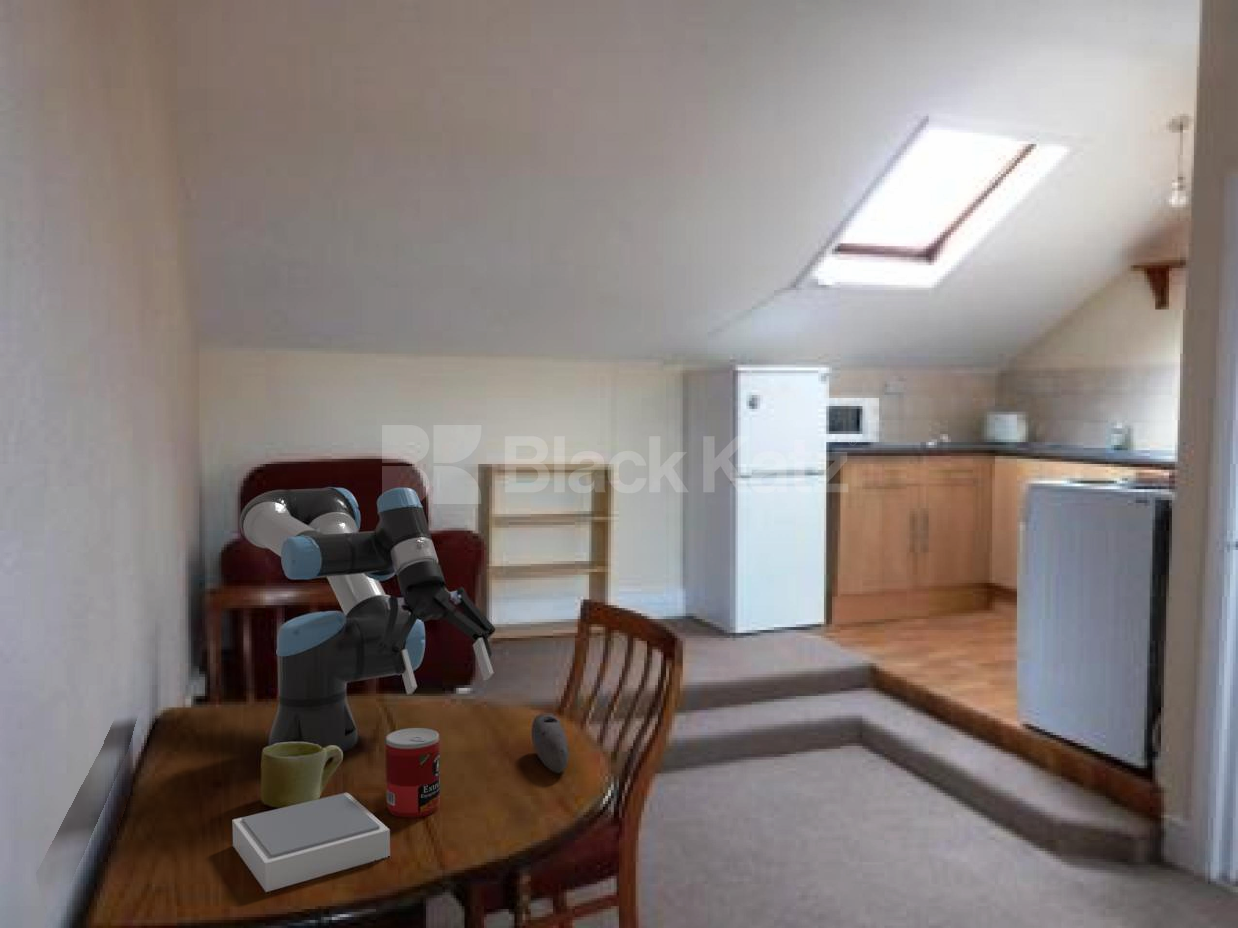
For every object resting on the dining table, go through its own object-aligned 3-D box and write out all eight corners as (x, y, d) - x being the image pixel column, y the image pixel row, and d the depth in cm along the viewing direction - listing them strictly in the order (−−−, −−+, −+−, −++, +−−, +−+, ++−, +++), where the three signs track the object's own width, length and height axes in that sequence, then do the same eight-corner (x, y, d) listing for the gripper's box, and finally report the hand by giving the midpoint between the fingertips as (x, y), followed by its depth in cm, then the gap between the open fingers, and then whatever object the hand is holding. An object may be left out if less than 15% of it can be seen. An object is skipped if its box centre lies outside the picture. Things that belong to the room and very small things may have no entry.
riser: (233, 845, 127) (232, 816, 127) (347, 816, 137) (347, 789, 136) (265, 891, 114) (265, 859, 114) (390, 856, 124) (389, 826, 124)
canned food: (428, 820, 135) (427, 745, 134) (377, 816, 137) (376, 742, 136) (448, 800, 142) (447, 728, 142) (399, 796, 144) (398, 726, 144)
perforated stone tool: (575, 778, 151) (574, 736, 151) (543, 781, 150) (542, 739, 149) (559, 748, 166) (558, 709, 165) (530, 750, 164) (529, 712, 164)
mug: (256, 809, 134) (267, 737, 138) (249, 807, 143) (260, 739, 147) (342, 811, 139) (351, 742, 143) (331, 809, 148) (339, 744, 151)
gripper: (353, 565, 151) (385, 687, 142) (490, 552, 166) (527, 661, 156) (341, 587, 156) (370, 706, 147) (474, 573, 171) (509, 680, 161)
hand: (451, 683), depth 152 cm, fingers open, 13 cm apart
